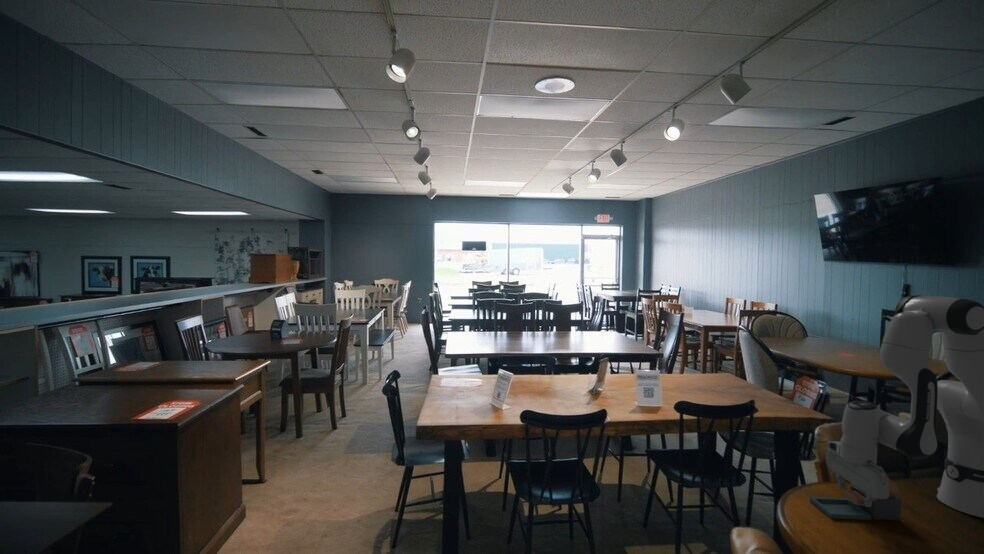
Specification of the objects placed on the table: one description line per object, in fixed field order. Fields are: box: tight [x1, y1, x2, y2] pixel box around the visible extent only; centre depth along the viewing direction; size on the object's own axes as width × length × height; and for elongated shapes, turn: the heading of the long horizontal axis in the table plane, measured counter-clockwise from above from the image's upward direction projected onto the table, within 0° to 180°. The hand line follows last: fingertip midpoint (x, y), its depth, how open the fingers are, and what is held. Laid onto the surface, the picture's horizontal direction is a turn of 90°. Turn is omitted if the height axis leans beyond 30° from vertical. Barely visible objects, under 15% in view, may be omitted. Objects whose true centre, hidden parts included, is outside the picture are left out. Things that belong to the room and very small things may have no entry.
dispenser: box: [850, 478, 902, 521], centre depth 138 cm, size 8×9×11 cm
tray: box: [809, 496, 872, 521], centre depth 138 cm, size 12×9×2 cm
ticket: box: [843, 489, 867, 506], centre depth 138 cm, size 9×5×2 cm, turn 89°
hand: (854, 497), depth 138 cm, fingers open, 8 cm apart
